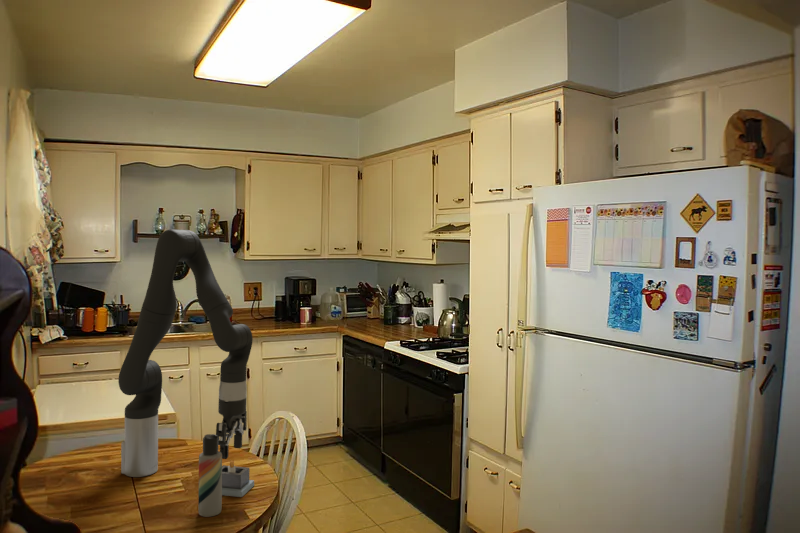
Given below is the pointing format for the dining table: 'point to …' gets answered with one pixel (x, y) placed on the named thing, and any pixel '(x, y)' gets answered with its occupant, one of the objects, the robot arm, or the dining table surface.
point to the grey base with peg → (237, 491)
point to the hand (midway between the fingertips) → (231, 453)
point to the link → (235, 477)
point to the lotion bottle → (210, 477)
